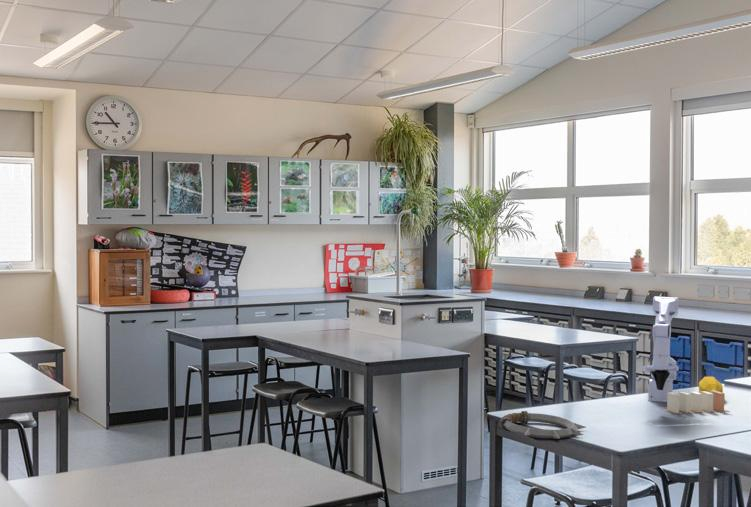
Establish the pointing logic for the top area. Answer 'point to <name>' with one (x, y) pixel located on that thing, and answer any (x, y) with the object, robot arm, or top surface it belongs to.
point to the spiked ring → (526, 417)
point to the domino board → (693, 411)
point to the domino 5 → (718, 400)
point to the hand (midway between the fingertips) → (659, 389)
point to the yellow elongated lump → (710, 385)
